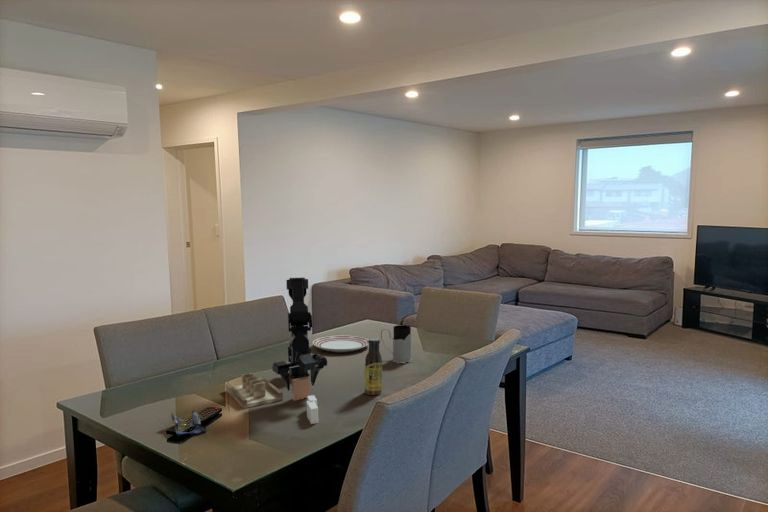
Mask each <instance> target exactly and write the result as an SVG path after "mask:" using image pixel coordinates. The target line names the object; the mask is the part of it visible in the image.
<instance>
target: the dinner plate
mask: <svg viewBox="0 0 768 512" xmlns="http://www.w3.org/2000/svg"><path fill="white" fill-rule="evenodd" d="M368 341H369V339H368V338H365V337H362V336H356V335H346V334H345V335H330V336H329V335H328V336H323V337H318V338H316V339H314V340H313V341H312V345H313V346H315V348H318V349H320V350H323V351H325V350H326V352H329V351H331V352H330V353H349V351H351V352H355V351H354V350H356V351H358V350H360V349H363V348H365V347H366V346H369V343H368Z"/></svg>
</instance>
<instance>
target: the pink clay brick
mask: <svg viewBox="0 0 768 512" xmlns="http://www.w3.org/2000/svg"><path fill="white" fill-rule="evenodd" d="M310 383H311V377H308V376H304V377H299V378H294V379H291V399H293V401H294V402H295V401H300V399H301V400H304V398H305V399H307V396H311V387H310V386H311V384H310Z"/></svg>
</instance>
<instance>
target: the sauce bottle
mask: <svg viewBox="0 0 768 512" xmlns="http://www.w3.org/2000/svg"><path fill="white" fill-rule="evenodd" d="M368 340H369V341H368V343H369V345H368V352H367V354H366V356H365V364H364V386H363V387H364V393H365V394H366V395H369V396H378V395H380V394H381V393H382V390H383V389H382V384H383V383H382V379H383V359H382V354H381V353H380V343H381V338H378V337H377V338H376V337H373V338H369V339H368Z"/></svg>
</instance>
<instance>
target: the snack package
mask: <svg viewBox="0 0 768 512" xmlns="http://www.w3.org/2000/svg"><path fill="white" fill-rule="evenodd" d="M189 412H190V411H188V413H189ZM191 416H192V422H191V423H192V425H195V426H196V425H197V426H196V427H195V429H193V430H192V429H191V430H192V431H190V430H189V431H190V432H177V431H178V430H177V429H178V425H179V424H180V423H182V422H183V421H184V420H185V419H181V418H179V417H177V416H176V415H175V414H173V413H171V420H172V421H173V423H174V429H175V430H174V431H175V434H176V436H177V437H180V436H183V435H188V434H189V435H190V436H199V435H200V434H203V433H206V432H207V428H206V426H205V425H202V424H201V417H200V415H199V413H197V412H196V411H195V410H192V411H191Z"/></svg>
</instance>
